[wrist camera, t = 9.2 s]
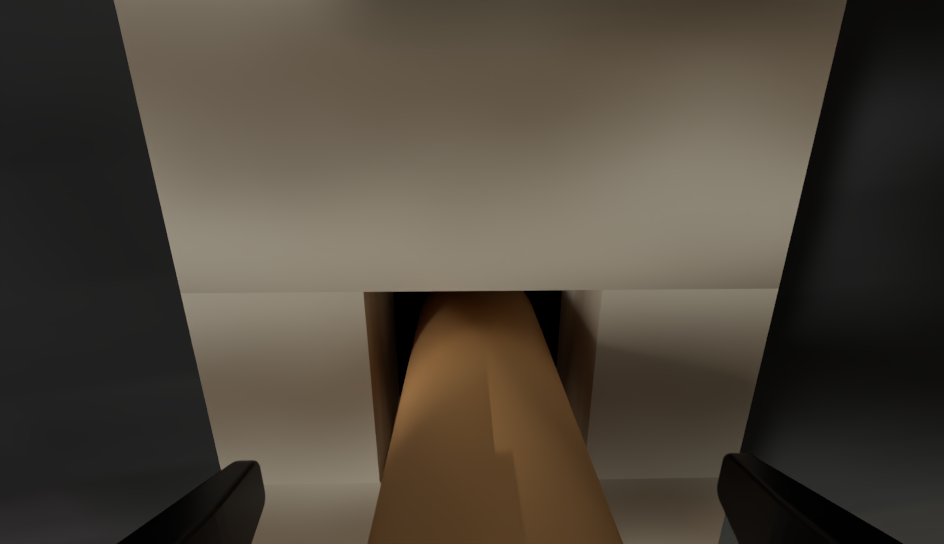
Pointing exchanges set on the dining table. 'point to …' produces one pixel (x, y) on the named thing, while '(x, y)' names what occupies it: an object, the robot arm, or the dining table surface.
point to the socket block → (479, 219)
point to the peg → (487, 435)
